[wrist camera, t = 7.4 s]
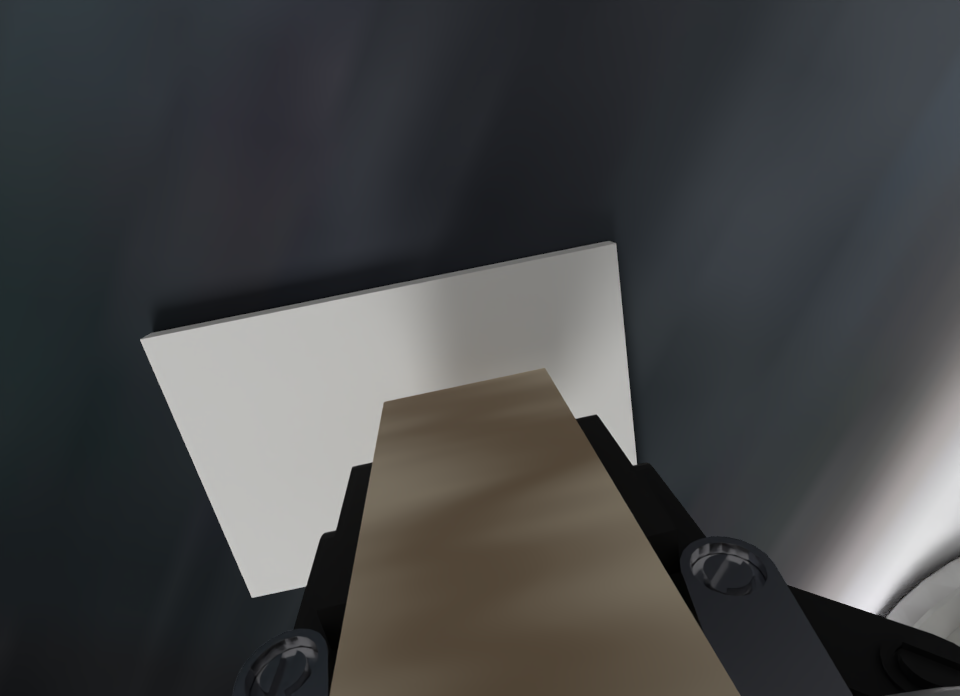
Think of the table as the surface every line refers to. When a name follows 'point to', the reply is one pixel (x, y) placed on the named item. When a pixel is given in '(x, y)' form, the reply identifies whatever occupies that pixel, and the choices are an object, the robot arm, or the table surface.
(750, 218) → the table surface
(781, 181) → the table surface
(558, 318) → the mat
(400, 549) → the block
